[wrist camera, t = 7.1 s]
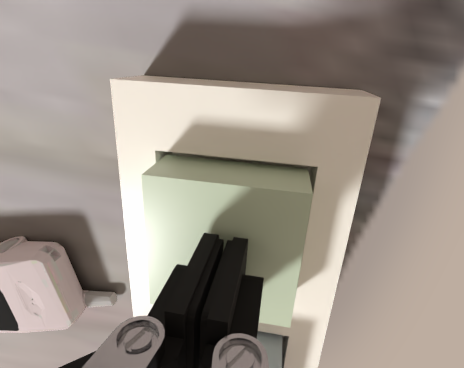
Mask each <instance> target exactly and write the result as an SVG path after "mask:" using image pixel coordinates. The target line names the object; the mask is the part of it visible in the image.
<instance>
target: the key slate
mask: <svg viewBox="0 0 464 368" xmlns="http://www.w3.org/2000/svg"><path fill="white" fill-rule="evenodd" d="M257 340H258V341H259V342H261V343H262V345H263V346H264V348H265V349H266V352H267V356H268V362H269V368H282V335H278V334H273V333H267V332H261V331H258V333H257Z"/></svg>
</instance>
